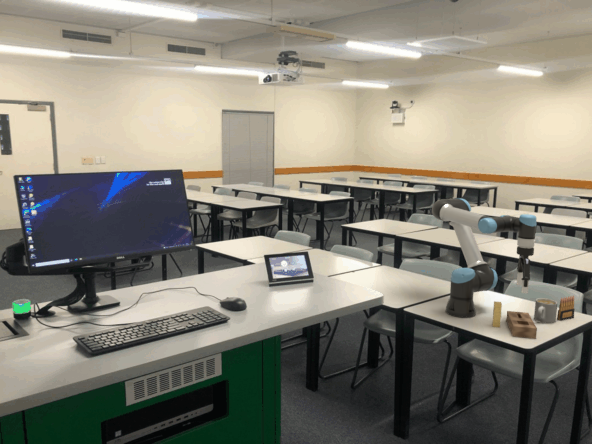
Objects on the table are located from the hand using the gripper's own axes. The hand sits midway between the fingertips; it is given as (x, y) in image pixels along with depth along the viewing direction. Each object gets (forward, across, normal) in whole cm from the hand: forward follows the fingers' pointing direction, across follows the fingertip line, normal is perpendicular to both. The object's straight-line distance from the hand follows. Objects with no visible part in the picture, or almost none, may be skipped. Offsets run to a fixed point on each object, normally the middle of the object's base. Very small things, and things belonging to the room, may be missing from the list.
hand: (521, 289), depth 245 cm
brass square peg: (+19, -4, +11) cm, 22 cm away
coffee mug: (+19, +11, -13) cm, 25 cm away
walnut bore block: (+19, -5, 0) cm, 19 cm away
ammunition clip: (+19, +17, -25) cm, 36 cm away
